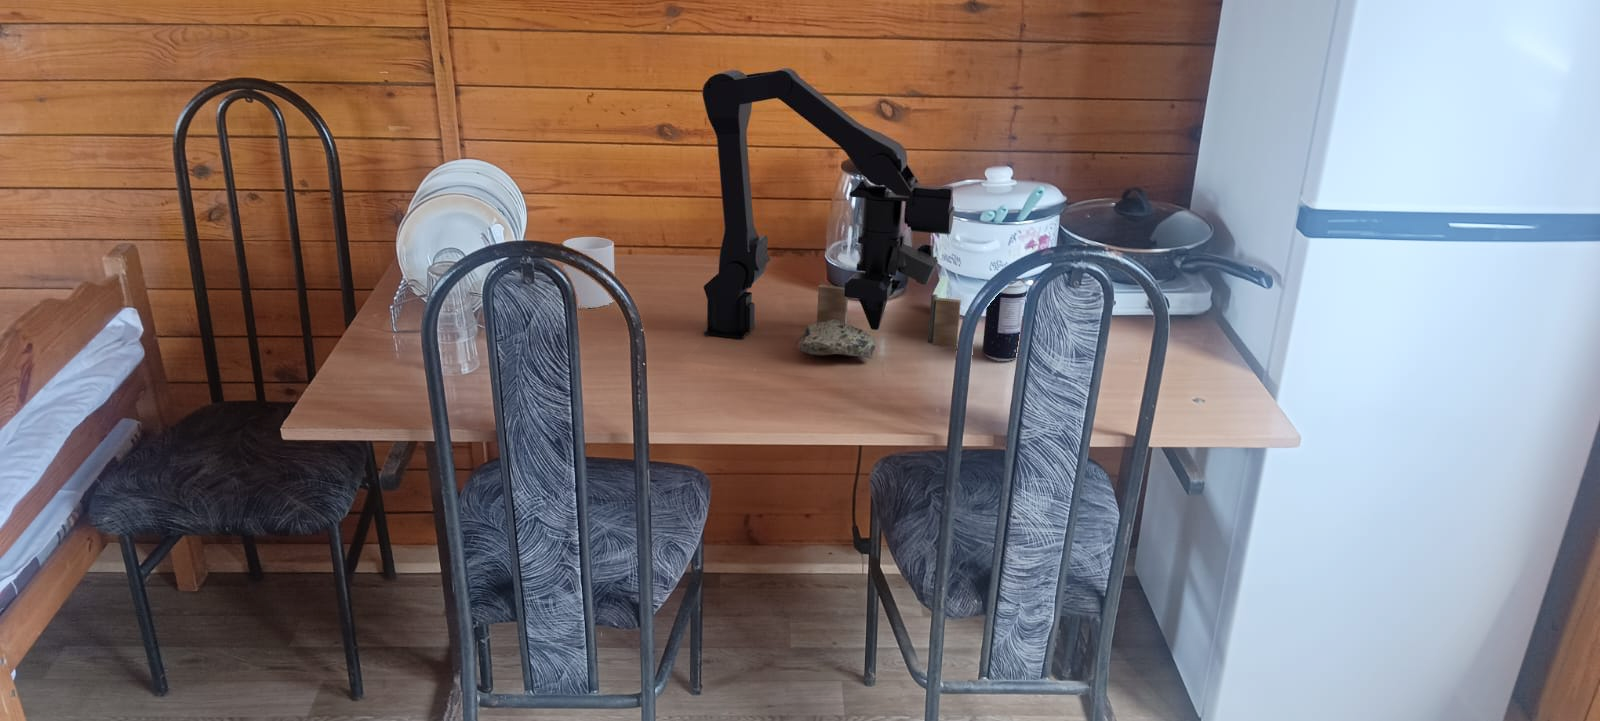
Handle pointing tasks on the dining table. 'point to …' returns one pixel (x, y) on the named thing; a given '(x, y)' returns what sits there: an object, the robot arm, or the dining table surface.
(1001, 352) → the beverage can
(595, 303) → the mug
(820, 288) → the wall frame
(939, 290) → the door
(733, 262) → the robot arm
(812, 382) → the dining table surface
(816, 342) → the rock
